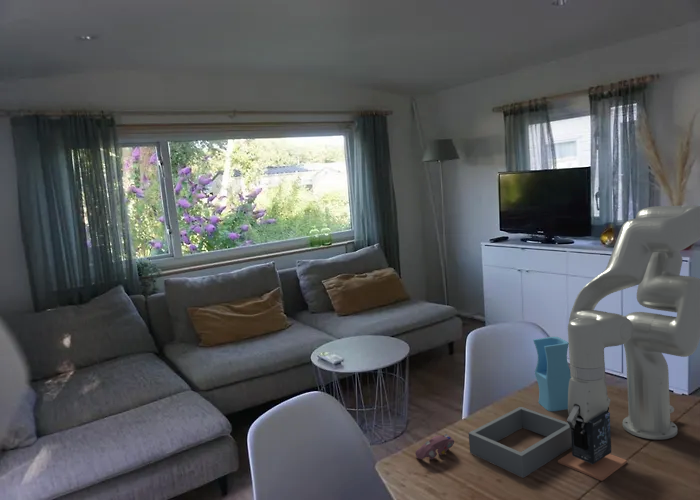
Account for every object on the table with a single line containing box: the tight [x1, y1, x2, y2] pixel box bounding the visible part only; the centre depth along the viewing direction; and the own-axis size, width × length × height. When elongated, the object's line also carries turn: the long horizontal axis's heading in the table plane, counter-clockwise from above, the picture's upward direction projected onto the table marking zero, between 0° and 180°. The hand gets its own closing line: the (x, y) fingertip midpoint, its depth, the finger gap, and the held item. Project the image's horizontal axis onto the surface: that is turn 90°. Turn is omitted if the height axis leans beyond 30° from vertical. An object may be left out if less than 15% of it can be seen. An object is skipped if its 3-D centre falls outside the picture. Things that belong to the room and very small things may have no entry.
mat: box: [557, 451, 628, 481], centre depth 123 cm, size 11×11×1 cm
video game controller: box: [415, 433, 455, 460], centre depth 133 cm, size 10×5×7 cm, turn 118°
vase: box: [532, 336, 571, 412], centre depth 154 cm, size 8×8×20 cm
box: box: [571, 411, 612, 464], centre depth 122 cm, size 8×6×11 cm
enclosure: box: [468, 406, 572, 479], centre depth 132 cm, size 21×16×6 cm
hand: (591, 440), depth 122 cm, fingers closed on box, 8 cm apart
